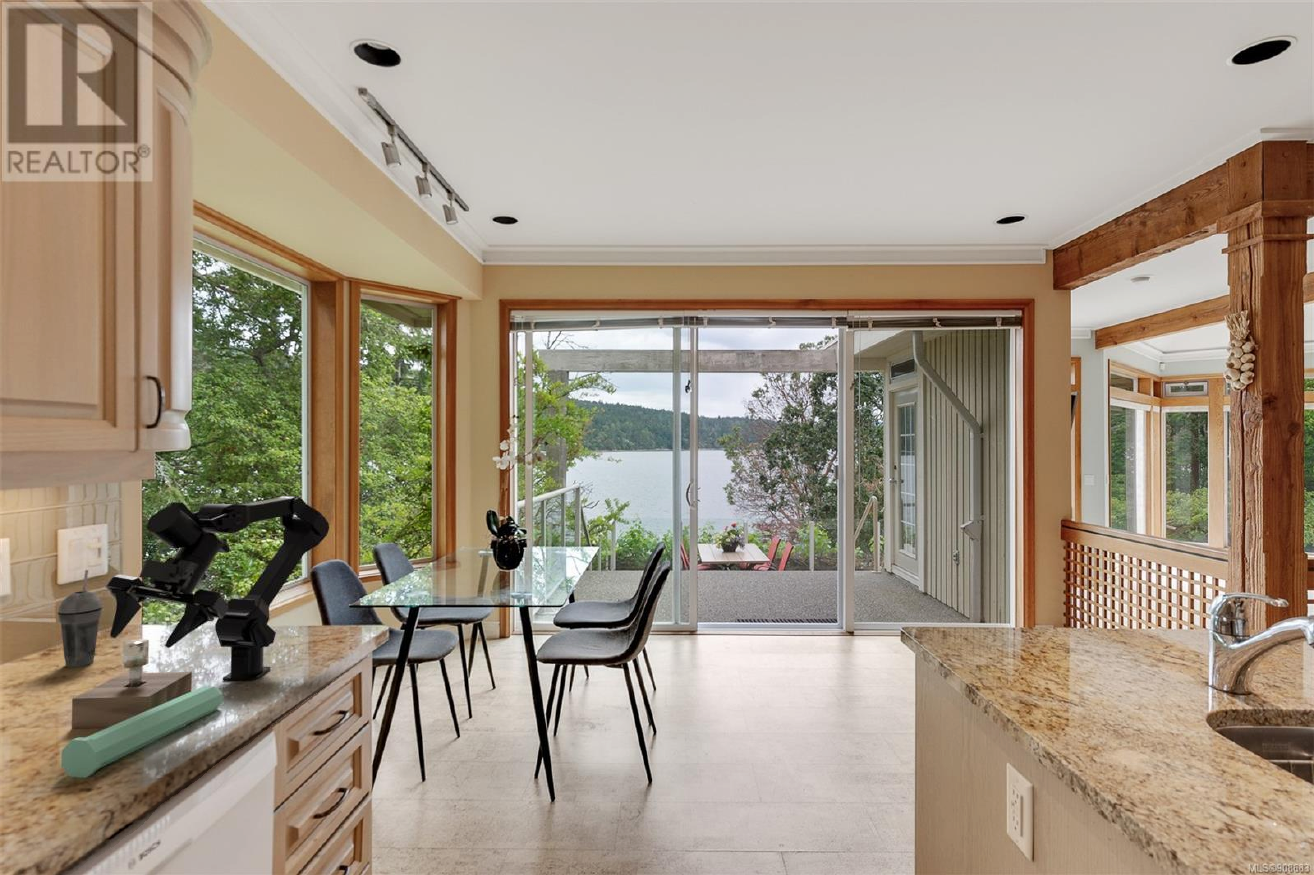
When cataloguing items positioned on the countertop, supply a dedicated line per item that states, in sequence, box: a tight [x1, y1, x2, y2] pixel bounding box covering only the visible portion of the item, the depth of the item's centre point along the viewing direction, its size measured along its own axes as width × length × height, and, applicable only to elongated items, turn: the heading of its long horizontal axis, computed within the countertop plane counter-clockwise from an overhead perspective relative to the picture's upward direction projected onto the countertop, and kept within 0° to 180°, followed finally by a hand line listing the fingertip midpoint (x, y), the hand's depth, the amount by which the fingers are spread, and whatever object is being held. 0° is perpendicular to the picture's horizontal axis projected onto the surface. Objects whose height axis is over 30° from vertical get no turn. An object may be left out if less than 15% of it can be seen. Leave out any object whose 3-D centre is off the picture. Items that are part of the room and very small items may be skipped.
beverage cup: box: [57, 569, 103, 668], centre depth 141 cm, size 7×7×20 cm
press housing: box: [71, 671, 193, 730], centre depth 116 cm, size 12×12×5 cm
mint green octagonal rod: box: [61, 685, 224, 779], centre depth 107 cm, size 6×6×25 cm
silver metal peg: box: [122, 638, 150, 687], centre depth 116 cm, size 4×4×8 cm
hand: (139, 642), depth 112 cm, fingers open, 9 cm apart
